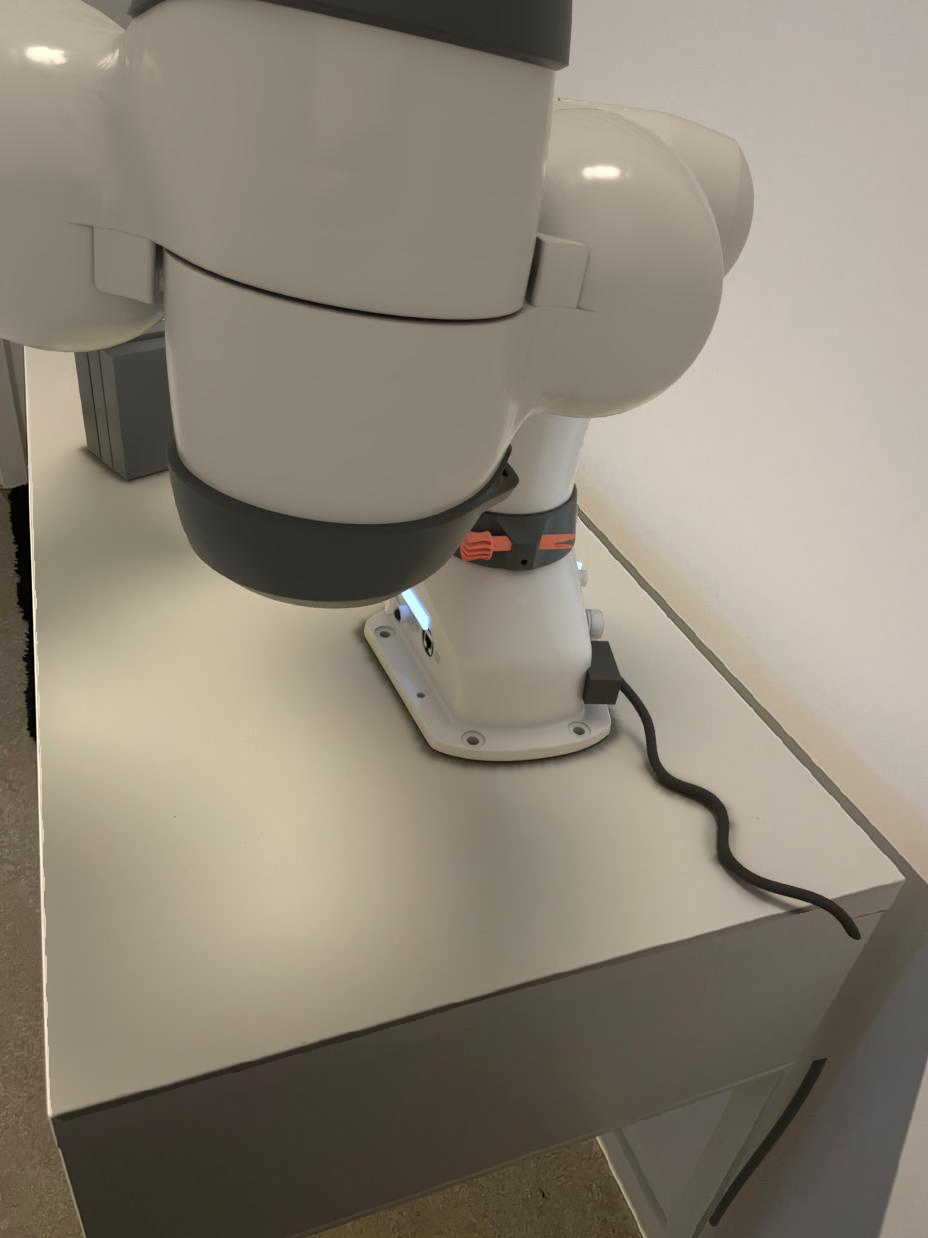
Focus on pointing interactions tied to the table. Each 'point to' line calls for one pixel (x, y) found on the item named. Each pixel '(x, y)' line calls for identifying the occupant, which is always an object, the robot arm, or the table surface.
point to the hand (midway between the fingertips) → (208, 264)
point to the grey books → (127, 403)
